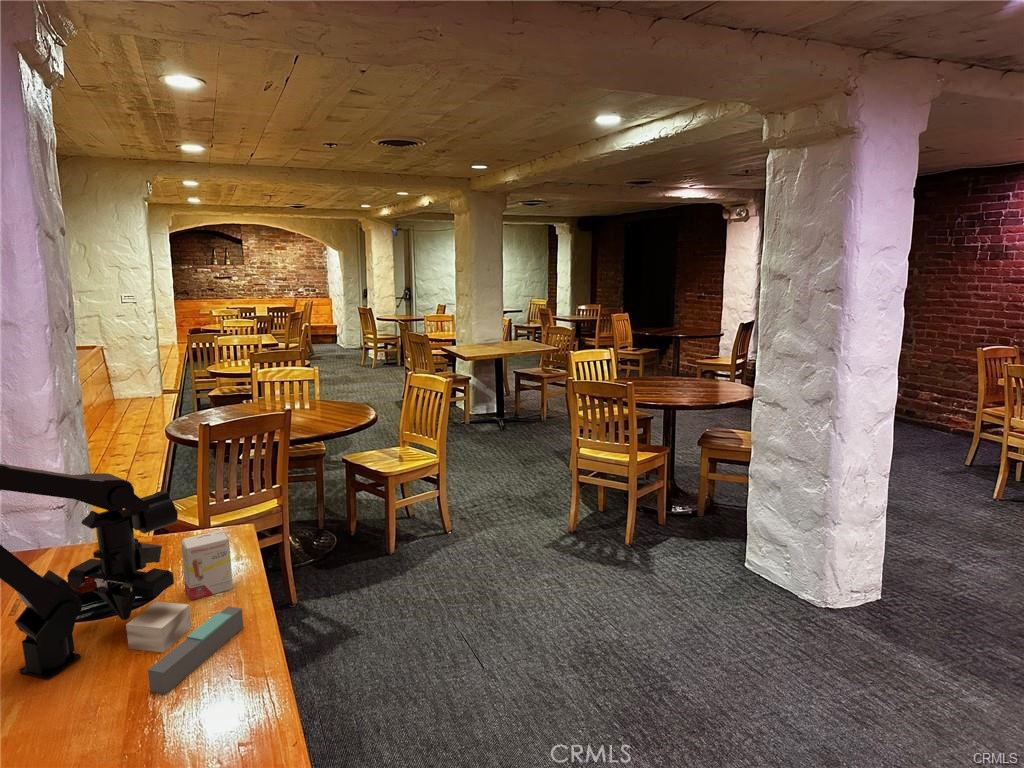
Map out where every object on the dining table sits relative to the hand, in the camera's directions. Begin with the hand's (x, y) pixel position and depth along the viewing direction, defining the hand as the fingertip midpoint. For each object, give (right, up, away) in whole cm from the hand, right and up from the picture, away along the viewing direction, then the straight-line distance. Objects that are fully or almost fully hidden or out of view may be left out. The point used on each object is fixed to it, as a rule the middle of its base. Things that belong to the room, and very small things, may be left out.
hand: (125, 619), depth 125 cm
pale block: (+7, -3, -1) cm, 8 cm away
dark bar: (+17, -4, -7) cm, 19 cm away
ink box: (+9, 0, +16) cm, 18 cm away
